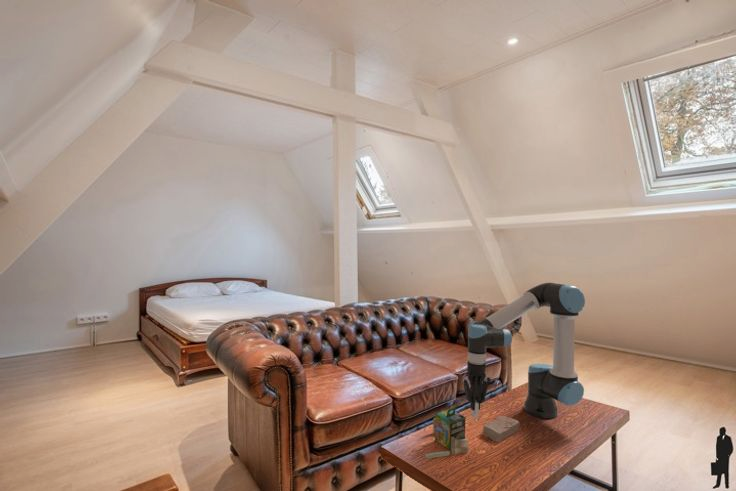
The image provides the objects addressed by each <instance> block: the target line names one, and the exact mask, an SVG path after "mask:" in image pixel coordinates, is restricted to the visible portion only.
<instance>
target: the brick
mask: <svg viewBox="0 0 736 491" xmlns="http://www.w3.org/2000/svg"><path fill="white" fill-rule="evenodd" d="M519 430H520V421H519V420H517V419H515V418H512V417H508V416H505V415H504V414H503V415H500V416H498V417H497V418H496V419H494V420H492V421H489V422H487V423H485V424H484V425H483V427H482V435H483V436H484V437H486V438H488V437H489V439H491V440H492V441H494V442H495V443H501V442H502V441H503V440H504V439H507V438H509V437H511V436H513V435H514V434H516V433H517V432H519Z"/></svg>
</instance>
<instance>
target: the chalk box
mask: <svg viewBox="0 0 736 491" xmlns="http://www.w3.org/2000/svg"><path fill="white" fill-rule="evenodd" d="M456 410H457V407H456V406H455V407H452V408H449V409H446V410H442V411H440V412H437V413H435V415H434V416H435V417H434V418H435V434H434V438H435V439H434V440H435V442H437V443H438V444H440V445H441V446H443V447H444V448H446V449H447V450H448V451H451V437H454V438H455V440H461V439H466V416H464V415H462V414H460V413H459V412H457V411H456Z"/></svg>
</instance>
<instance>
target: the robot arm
mask: <svg viewBox="0 0 736 491" xmlns="http://www.w3.org/2000/svg"><path fill="white" fill-rule="evenodd" d="M585 299H586V297H585V294H584V293H583V292H582V290H580V288H578V286H577V287H576V286H573V285H570V284H566V283H565V284H562V283H554V282H543V283H541V284H538V285H536V286H533V287H531V288H530V289H528V290H526V291H524V292H523V294H522V296H520V297H518V298H517V299H516V300H513V301H512V302H510V303H509V304H507V305H505V306H504V307H502V308H500V309H499V310H497V311H495V312H494V313H491V314H490V315H488V316H487V317H485V318H483V319H481V320H480V321H478V320H476V321H475V320H473V321H471V322H470V323H469V324H468V327H467V364H466V366H467V368H466V369H467V370H466V371H467V373H466V375H465V377H462V378H461V382H462V384H463V389H464V393H465V397H466V398H465V399H466V401H468V402H469V403H470V410H471V416H472V418H473V419H475V420H477V419H479V410H481V404H482V403H483V402H484V401H485V400H486V395H487V392H488V387H489V383H490V382H491V381H492V378H490V377H488V376H487V374H486V371H487V370H486V369H487V368H486V367H487V365H486V363H487V348H504V347H509V346H511V344H512V343H513V335H512V332H511V331H510V330H509V329H508V328H507V329H506V328H505V327H506V326H507V325H509V324H510V323H512V322H514V321H516V320H517V319H519V318H520V317H523V316H524V315H526V314H527V313H529V312H531V311H532V310H538V309H540V308H543V307H548V308H549V314H551V315H552V316H553V331H552V332H553V341H552V342H553V344H552V345H553V346H552V347H553V348H552V349H553V350H552V365H551V364H546V363H533V364H530V365H529V366H528V372H527V385H528V386H527V395H526V398H525V401H524V403H523V409H524V411H525V412H526V413H527V414H529V415H531V416H534V417H537V418H541V419H554V418H557V417H558V414H559V412H558V408H557V405H556V401H557V402H559V403H561V404H563V405H566V406H569V407H572V406H575V405H577V404H579V403H580V401H582V399H583V397H584V393H585V388H584V385H583V384H582V383H581V382H580V381H578V378H579V375H578V373H577V372H576V371H575V319H576V318H577V317H579V313H580V312H582V311H583V308H585V304H586V300H585ZM555 400H556V401H555Z"/></svg>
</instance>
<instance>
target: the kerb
mask: <svg viewBox="0 0 736 491" xmlns="http://www.w3.org/2000/svg"><path fill="white" fill-rule="evenodd" d="M450 454H451V451H450V450H445V451H437V452H430V453H426V454H424V456H425V457H424V458H425V459H434V458H441V457H447V456H450Z"/></svg>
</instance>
